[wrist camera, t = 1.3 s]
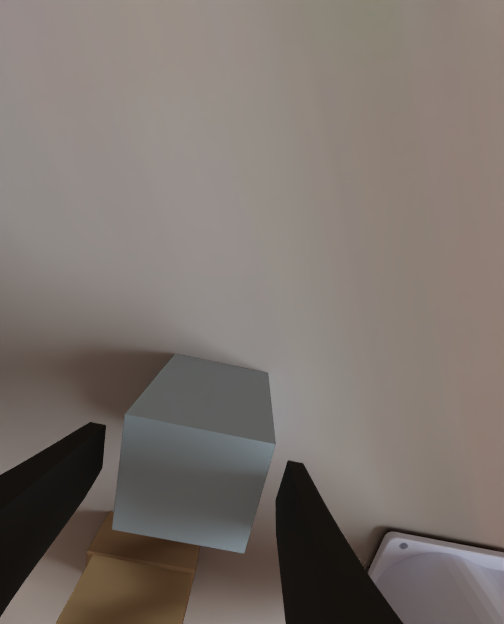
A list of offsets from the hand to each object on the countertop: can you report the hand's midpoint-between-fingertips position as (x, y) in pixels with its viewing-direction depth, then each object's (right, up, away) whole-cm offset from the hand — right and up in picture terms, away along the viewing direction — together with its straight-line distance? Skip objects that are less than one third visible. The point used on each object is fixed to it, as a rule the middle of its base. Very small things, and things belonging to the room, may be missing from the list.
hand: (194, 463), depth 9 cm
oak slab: (-5, -11, +4) cm, 12 cm away
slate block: (0, +1, +4) cm, 4 cm away
